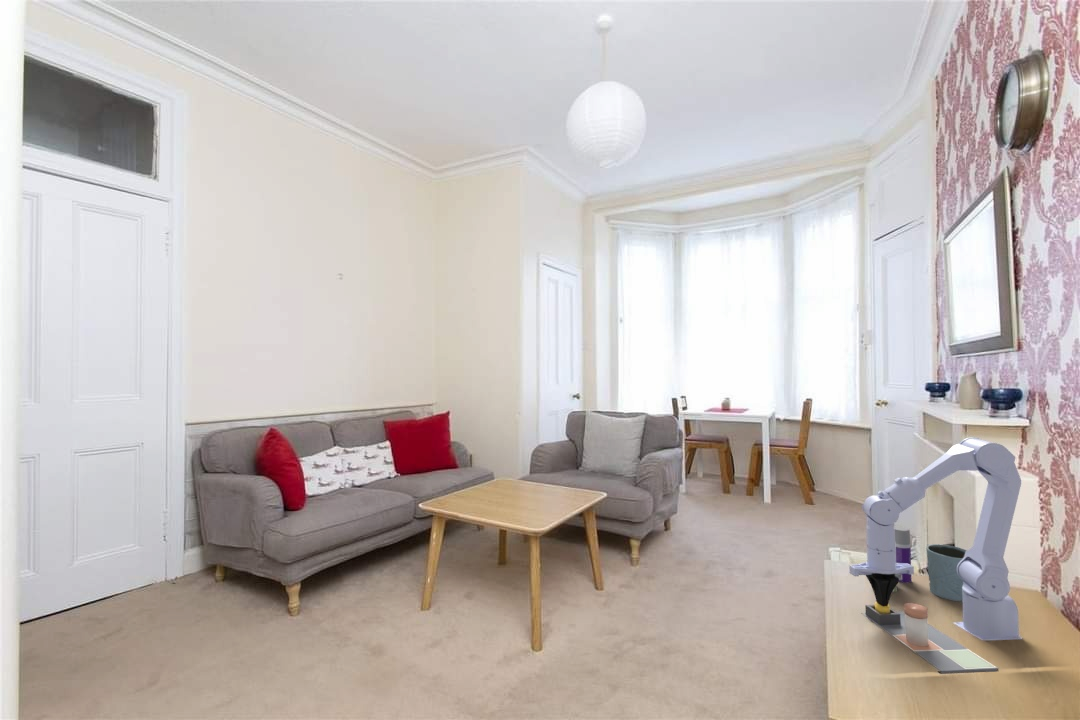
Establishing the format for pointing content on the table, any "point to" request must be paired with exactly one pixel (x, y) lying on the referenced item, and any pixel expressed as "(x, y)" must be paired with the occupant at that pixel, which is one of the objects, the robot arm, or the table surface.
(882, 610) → the button
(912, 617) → the white cylinder
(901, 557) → the container
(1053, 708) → the table surface
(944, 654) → the colouring board
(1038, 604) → the table surface
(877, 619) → the button housing
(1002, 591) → the robot arm
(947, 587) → the teal plant pot
